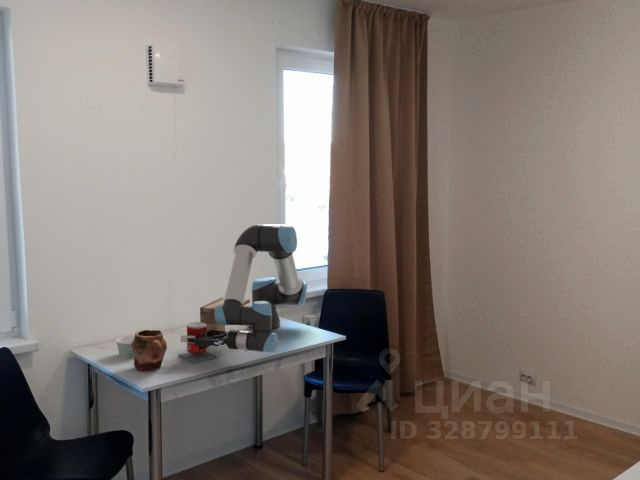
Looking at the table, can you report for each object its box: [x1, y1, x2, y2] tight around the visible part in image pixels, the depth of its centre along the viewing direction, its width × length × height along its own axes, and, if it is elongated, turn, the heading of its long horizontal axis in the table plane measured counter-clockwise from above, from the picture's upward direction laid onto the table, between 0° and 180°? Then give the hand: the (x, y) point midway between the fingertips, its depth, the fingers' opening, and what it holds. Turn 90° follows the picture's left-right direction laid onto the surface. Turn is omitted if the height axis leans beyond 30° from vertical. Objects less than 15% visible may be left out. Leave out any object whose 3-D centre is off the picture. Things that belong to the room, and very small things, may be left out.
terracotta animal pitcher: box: [131, 329, 168, 372], centre depth 241 cm, size 20×12×14 cm, turn 45°
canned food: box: [186, 321, 208, 354], centre depth 256 cm, size 8×8×11 cm
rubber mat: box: [177, 350, 218, 364], centre depth 257 cm, size 11×11×1 cm
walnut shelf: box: [199, 297, 251, 349], centre depth 275 cm, size 14×22×18 cm, turn 165°
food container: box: [115, 335, 135, 359], centre depth 260 cm, size 12×12×6 cm
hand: (186, 336), depth 257 cm, fingers closed on canned food, 8 cm apart
